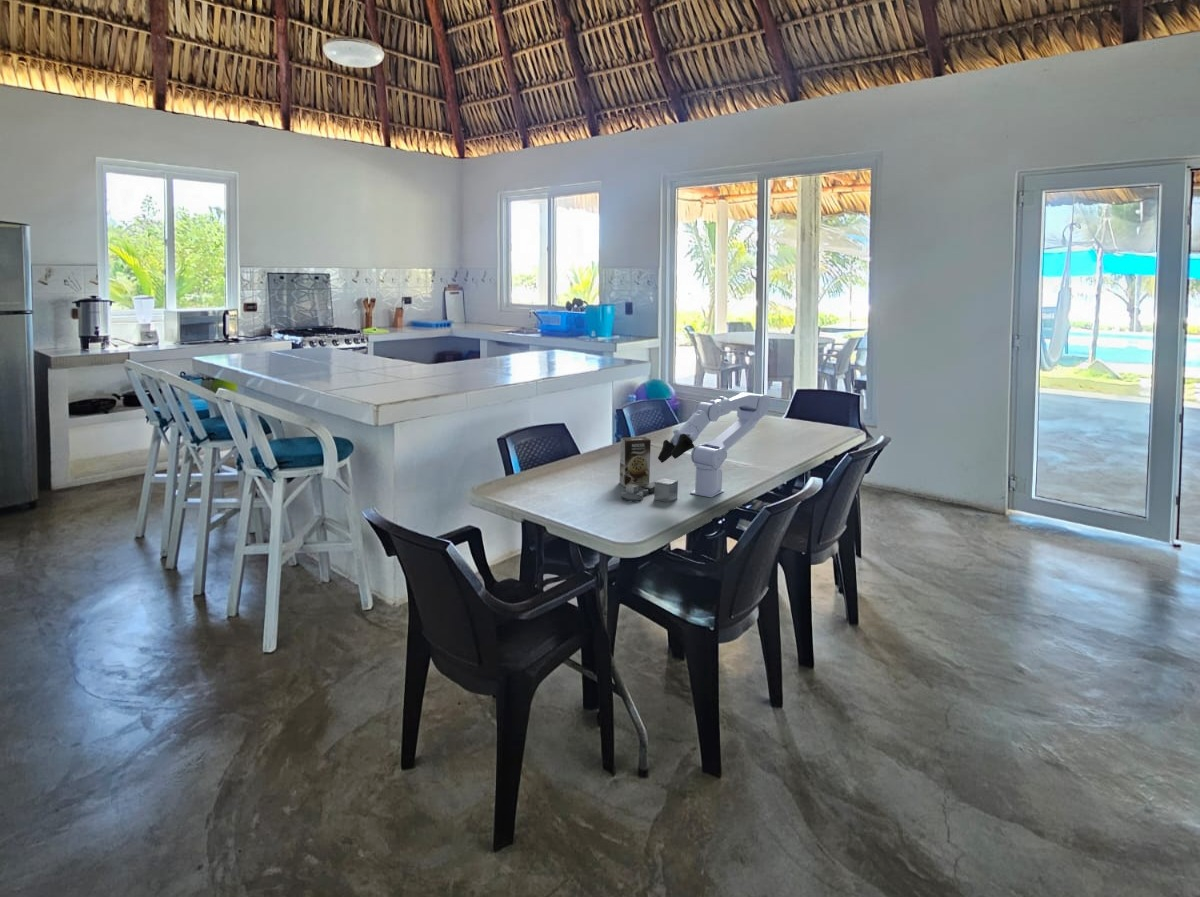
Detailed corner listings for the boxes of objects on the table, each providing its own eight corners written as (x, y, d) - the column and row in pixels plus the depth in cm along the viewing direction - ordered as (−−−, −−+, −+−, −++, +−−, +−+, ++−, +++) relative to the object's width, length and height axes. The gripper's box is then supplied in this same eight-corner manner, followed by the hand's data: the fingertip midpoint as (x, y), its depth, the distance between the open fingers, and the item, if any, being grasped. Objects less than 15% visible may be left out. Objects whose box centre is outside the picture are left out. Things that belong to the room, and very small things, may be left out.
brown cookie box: (624, 487, 264) (625, 440, 260) (619, 482, 270) (619, 437, 267) (650, 485, 266) (651, 439, 263) (644, 481, 272) (645, 435, 269)
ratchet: (649, 486, 266) (649, 473, 265) (667, 489, 262) (667, 476, 261) (617, 499, 251) (617, 485, 250) (635, 503, 247) (635, 489, 246)
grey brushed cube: (663, 495, 255) (663, 478, 253) (677, 498, 251) (677, 480, 250) (654, 499, 250) (654, 481, 249) (668, 502, 247) (669, 484, 246)
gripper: (671, 425, 253) (646, 452, 247) (696, 415, 240) (670, 444, 234) (684, 441, 254) (660, 469, 248) (710, 432, 241) (685, 461, 235)
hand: (666, 458), depth 241 cm, fingers open, 7 cm apart
